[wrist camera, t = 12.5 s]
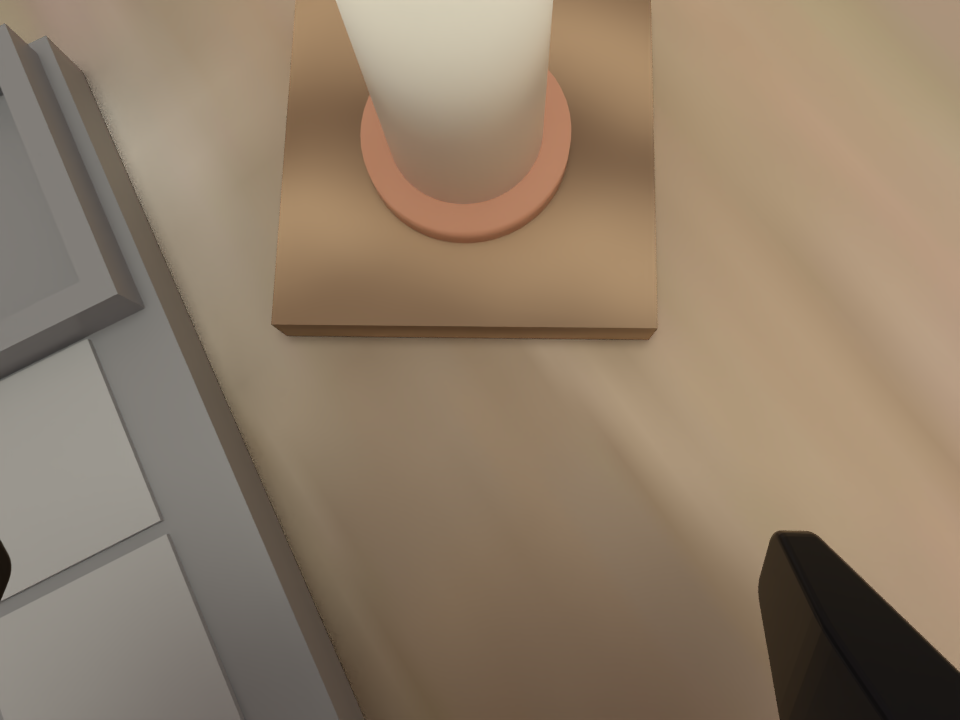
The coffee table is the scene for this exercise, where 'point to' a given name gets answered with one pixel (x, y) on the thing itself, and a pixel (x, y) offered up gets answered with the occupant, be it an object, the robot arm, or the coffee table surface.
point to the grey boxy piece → (125, 457)
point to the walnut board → (483, 265)
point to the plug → (460, 112)
